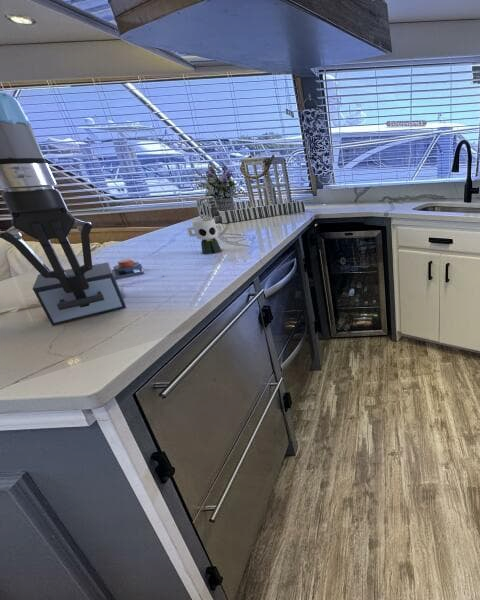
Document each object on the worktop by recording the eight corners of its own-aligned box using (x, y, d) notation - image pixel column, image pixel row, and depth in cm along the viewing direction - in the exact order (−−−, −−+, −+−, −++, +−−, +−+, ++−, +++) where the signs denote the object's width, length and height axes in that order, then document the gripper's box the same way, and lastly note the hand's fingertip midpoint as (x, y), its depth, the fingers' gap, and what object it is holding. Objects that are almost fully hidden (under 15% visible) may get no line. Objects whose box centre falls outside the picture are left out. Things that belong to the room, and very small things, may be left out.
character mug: (197, 260, 113) (186, 223, 108) (195, 256, 119) (184, 221, 113) (231, 254, 119) (221, 219, 114) (227, 251, 125) (218, 217, 119)
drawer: (124, 312, 71) (112, 283, 69) (52, 330, 64) (36, 299, 62) (117, 293, 83) (107, 268, 80) (56, 306, 76) (42, 279, 73)
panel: (93, 289, 89) (87, 276, 88) (92, 281, 96) (86, 268, 94) (147, 278, 97) (142, 265, 95) (142, 271, 103) (138, 259, 102)
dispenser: (126, 307, 76) (111, 273, 73) (52, 326, 68) (32, 288, 65) (121, 293, 85) (108, 262, 82) (55, 308, 78) (38, 274, 74)
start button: (120, 268, 94) (118, 263, 94) (119, 266, 97) (117, 261, 96) (135, 266, 97) (133, 260, 96) (134, 263, 99) (132, 258, 98)
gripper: (-30, 193, 53) (40, 320, 62) (77, 186, 61) (124, 300, 70) (-20, 191, 58) (43, 309, 67) (77, 186, 66) (121, 291, 75)
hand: (84, 304), depth 69 cm, fingers closed
